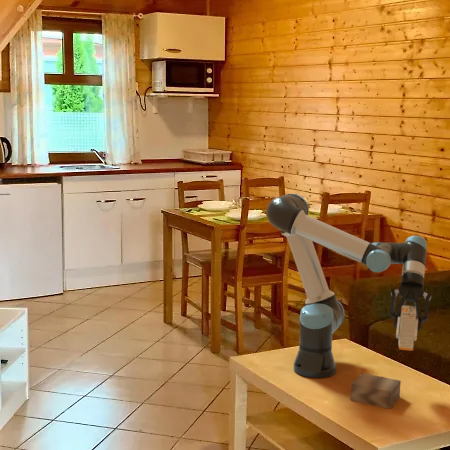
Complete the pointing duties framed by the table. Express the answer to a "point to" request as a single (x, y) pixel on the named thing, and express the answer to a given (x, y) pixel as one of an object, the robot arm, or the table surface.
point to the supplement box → (407, 327)
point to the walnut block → (375, 390)
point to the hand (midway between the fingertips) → (406, 337)
